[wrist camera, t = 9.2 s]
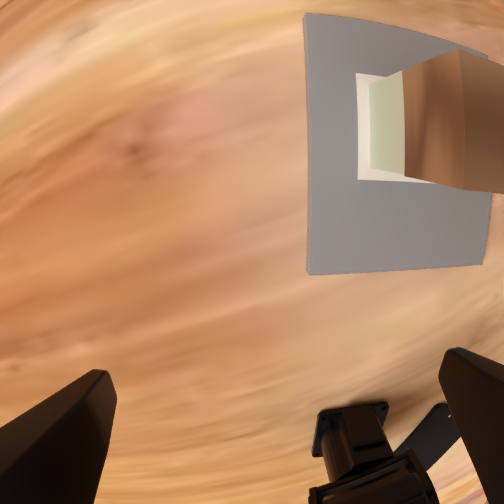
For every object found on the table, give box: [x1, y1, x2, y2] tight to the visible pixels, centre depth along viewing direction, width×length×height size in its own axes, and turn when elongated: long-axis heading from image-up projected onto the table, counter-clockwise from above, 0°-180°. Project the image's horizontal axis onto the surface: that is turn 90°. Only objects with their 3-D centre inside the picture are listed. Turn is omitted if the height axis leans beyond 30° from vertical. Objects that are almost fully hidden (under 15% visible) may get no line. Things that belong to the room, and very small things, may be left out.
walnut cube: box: [402, 49, 504, 194], centre depth 10 cm, size 5×5×4 cm
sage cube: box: [368, 71, 405, 174], centre depth 15 cm, size 5×5×4 cm
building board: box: [303, 13, 492, 276], centre depth 18 cm, size 16×14×1 cm
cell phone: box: [393, 403, 461, 471], centre depth 28 cm, size 9×18×1 cm, turn 158°
